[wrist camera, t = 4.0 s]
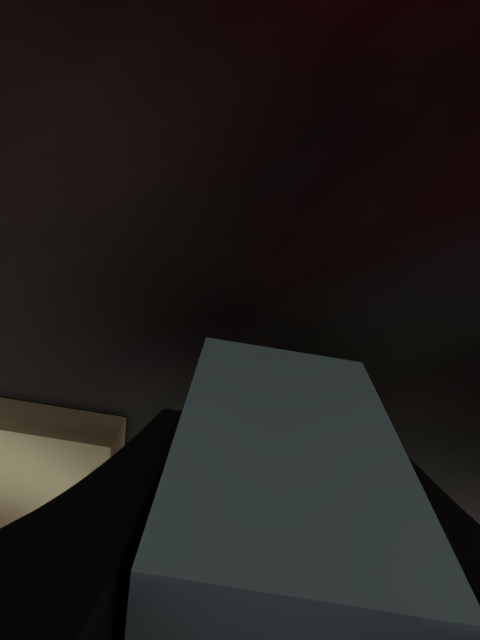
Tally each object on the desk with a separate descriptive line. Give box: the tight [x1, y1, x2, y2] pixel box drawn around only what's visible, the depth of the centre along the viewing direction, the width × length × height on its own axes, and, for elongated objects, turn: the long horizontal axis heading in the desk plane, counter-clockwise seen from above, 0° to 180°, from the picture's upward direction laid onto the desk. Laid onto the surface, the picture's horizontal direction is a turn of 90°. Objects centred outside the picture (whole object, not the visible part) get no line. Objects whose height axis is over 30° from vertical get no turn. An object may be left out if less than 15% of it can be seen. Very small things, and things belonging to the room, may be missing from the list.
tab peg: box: [124, 337, 480, 640], centre depth 9 cm, size 4×4×7 cm
